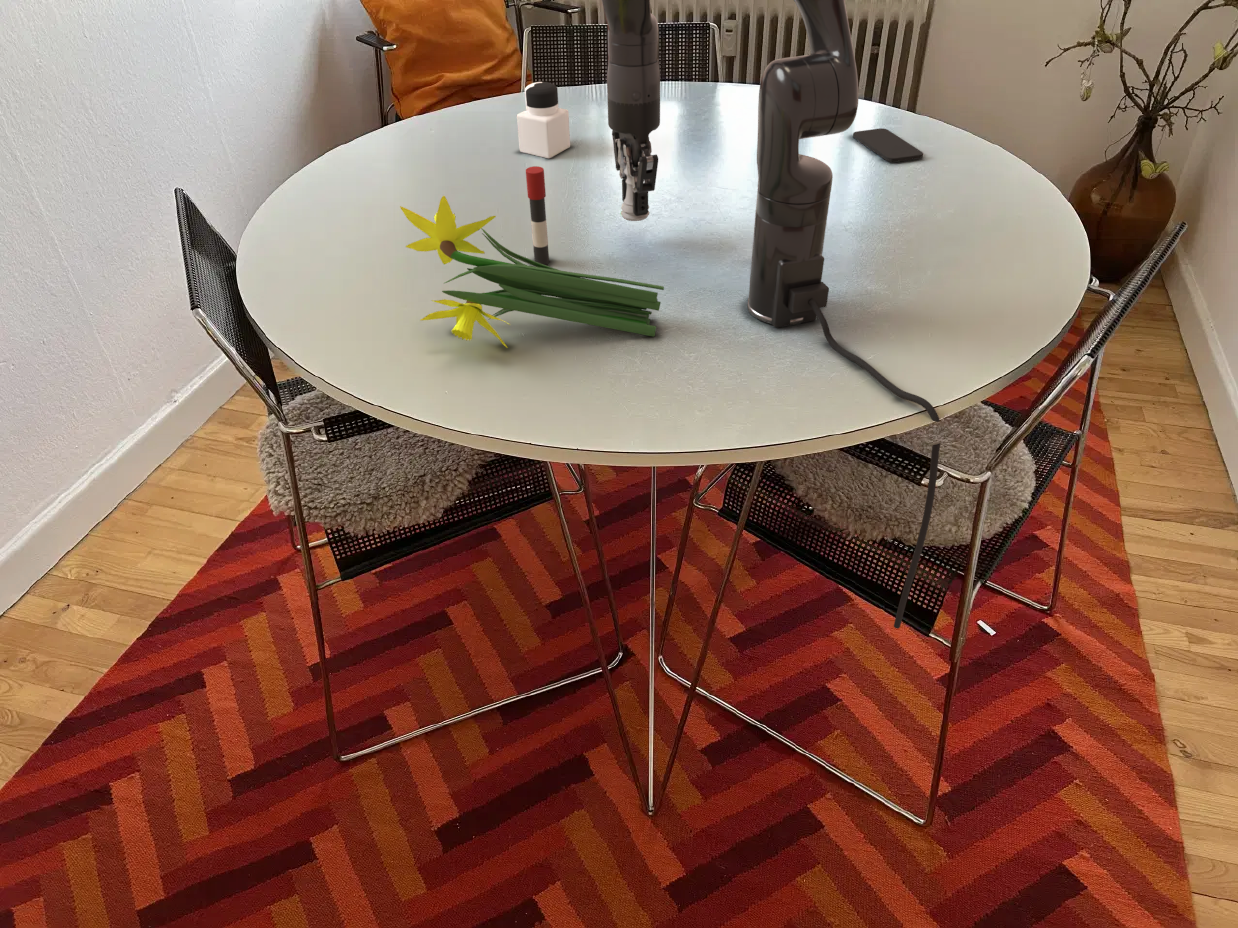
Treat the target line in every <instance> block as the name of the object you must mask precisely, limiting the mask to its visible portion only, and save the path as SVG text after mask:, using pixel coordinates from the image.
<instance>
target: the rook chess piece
mask: <svg viewBox="0 0 1238 928" xmlns="http://www.w3.org/2000/svg"><path fill="white" fill-rule="evenodd" d="M638 168H639V167H634V168H633V169H634V170H638ZM624 173H625V174H626V176H627V179H626V181H625V182H626V183H627V191H626V198H625V199H624V202H623V201H622V203H621V207H620V209H621V211H620V215H621V217H622V218H623V219H624V220H626V221H630V222H641V221H644V220H646V219H648V217H649V216H650V211H649V209H650V205H649V204H648V213H647V214H646V215H641V216H636V215H635V214H634V213H633V190H632V179H631V176H629V175H628V172H627V165H626V169H625V170H624ZM637 178H638V176H637ZM643 183H644V181H643Z"/></svg>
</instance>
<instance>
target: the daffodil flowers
mask: <svg viewBox="0 0 1238 928" xmlns="http://www.w3.org/2000/svg"><path fill="white" fill-rule="evenodd" d="M399 208H400V210H401V211H402V213H403V215H404V216H405V218H406V219H407V220H408V221H409V222H410V223H411V224H412V225H413V226H414V227H415V228H417V229H418V230H420V231H422V232H423V233H424V234H426V236H428V237H424V238H422V239H419V240H415V241H413V242H411V243H408V244H407V245H405V248H408V249H411V250H414V251H416V252H424V253H425V252H426V253H427V252H433V251H436V252H437V255H438V257H439V259H440V261H441V263H442V264H443V265H447V264H449V263H451V262H452V261H453V260H454V261H456V262H458V263H462V264H465V265H468V266H469V265H470V266H473V268H469V267H467V268H466V270H467V271H464V272H462V273H459V274H457V275H456V276H454V277H452V278H451V279H449V280H447V281H444V282H443V285H444V284H447V283H450V282H453V281H454V280H457V279H458V278H461V277H463V276H467V275H469V274H474V275H476V276H477V277H480V278H482V279H484V280H487V281H489V282H491V283H495V284H497V285H498V286H499V287H500V288H501V289H497V290H492V291H488V292H473V291H464V290H442V291H441V293H443V294H445V295H448V296H450V297H454V298H456V299H460V300H464V301H466V302H463V303H462V302H459V301H456V300H453V299H445V298H444V299H443V298H442V299H439V300H438V299H437V300H433V299H432V300H430V301H432V302H433V303H437V304H441V305H444V306H447V307H451V309H446V310H445V309H444V310H438V311H437V310H436V311H434V312H431V313H428V314H427V315H426V316H424V317H423V318H421V319H420V321H431V320H440V319H448V318H455V326H454V327H453V328H452V329H451V334H452V335H454V337H457V338H458V339H460V338H461V340H465V341H469V342H470V341H472V339H473V330H474V327H475V322H477V323H478V324H479V325H480V326H481V327H483V328H484V329H485V330H486V331H488V332H490V333H491V334H492V335H493V336H494V337H495V338H497V339H498V340H499V341H500V343H501V345H503V346H504V347H505V348H506V349H508V348H509V347H508V346H507V344H506V343H505V341H504V340H503V339H502V337H501V336H500V335H499V333H498V332H497V331H496V329H494V327H493V326H492V325H491V324H490V323H489V321H487V319H486V318H488V320H496V321H502V322H504V323H506V324H507V325H509V326H511V323H509V322H507V321H505V320H503V319H502V318H499V317H498V316H501V315H504V314H507V313H510V312H514V311H516V312H520V313H526V314H529V315H537V316H541V317H547V318H551V319H557V320H563V321H569V322H573V323H574V322H575V323H577V324H585V325H589V326H590V325H591V326H595V327H601V328H606V329H610V330H617V331H621V332H626V333H627V332H628V333H632V334H637V335H643V336H648V337H655V335H656V331H657V326H656V325H651V324H650V323H651V318H650V315H652V313H653V312H652V311H660V308H661V304H662V303H661V301H659V300H658V295H659V293H658V292H655V291H650V290H646V289H640V288H635V287H631V286H636V287H643V288H649V289H655V290H661V291H664V290H665V286H664V285H658V284H652V283H647V282H641V281H635V280H629V279H623V278H616V277H609V276H602V275H595V274H589V273H588V274H587V273H579V272H573V271H568V270H567V271H566V270H561V269H558V268H555V267H551V266H548V265H543V264H540V263H538V262H535V260H533V259H530V258H527V257H525V256H522V255H520V254H518V253H516V252H513V251H512V250H510V249H508V248H507V247H505V246H504V245H503V244H501V243H499V242H498V241H497V240H496V239H495V238H493V237H492V236H491V235H490V234H489V233H488V232H487V231H486V230H485V229H484V227H485V226H487V224H488V223H490V222H491V221H493V220H494V219H495V218H496V217H497V215H491V216H488V217H487V218H486V219H485V218H484V219H482V220H478V221H473V222H471V223H466V224H463V225H461V226H458V227H457V223H456V216H457V215H456V214H455V213H453V211H452V208H451V205H450V204H449V201H448V200H447V197H446V196H445V195H442V197H441V198H440V200H439V204H438V208H437V211H436V212H435V215H433V220H434V222H433V221H431V220H430V219H427V218H426V217H424V216H422V215H420V214H418V213H416V212H414V211H413V210H411V209H408V208H406V207H404V206H402V205H399ZM479 230H481V231H483V232H481V235H483V237H484V238H485V239H486V240H487V241H488V242H489V243H490V245H491V246H492V247H493V248H494V249H495V250H496V251H497V252H499V253H500V255H502V256H503V257H504V258H506V259H507V260H509V261H510V262H505V261H501V260H495V259H491V258H485V257H480V256H475V255H471V254H480V255H481V254H482V255H483V254H484V255H485V253H486V252H485V251H484V250H482V249H480V248H479V247H477V246H475V245H474V244H472V243H471V242H469V241H468V240H466V239H467V238H469V237H470V236H472V235H473V234H474V233H476V232H478V231H479ZM467 253H470V254H467ZM521 261H522V262H521ZM511 262H512V263H511ZM525 263H526V264H525ZM528 264H529V265H528ZM610 282H612V283H610ZM615 283H619V284H615ZM621 284H627V285H631V286H626V285H625V286H624V285H621ZM482 305H484V306H488V307H493V308H499V309H500V310H498V311H496V312H495V313H493V314H489V313H487V312H486V311H484V310H483V306H482ZM647 309H648V310H647ZM650 310H652V311H650ZM485 317H486V318H485Z"/></svg>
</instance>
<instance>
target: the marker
mask: <svg viewBox="0 0 1238 928" xmlns="http://www.w3.org/2000/svg"><path fill="white" fill-rule="evenodd" d="M525 179H526V180H525V181H526V190H527V191H526V192H527V198H528V200H529V210H530V224H531V237H532V247H533V259H534V261H535V262H538V263H540V264H543V265H546V266H548V264H550V253H549V238H548V237H549V236H548V225H547V224H548V222H547V212H546V196H547V195H546V181H545V169H544V168H543V167H541V166H537V165H536V166H535V165H534V166H529V167H526V169H525Z"/></svg>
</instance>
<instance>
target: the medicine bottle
mask: <svg viewBox="0 0 1238 928" xmlns="http://www.w3.org/2000/svg"><path fill="white" fill-rule="evenodd" d="M558 92H559V91H558V87H557V86H556V84H555V83H552V82H548V81H537V82H532V83H530V84H528V85H527V86H526V87H525V88H524V99H525V110H523V111H521V112H518V114H516V122H517V135H518V145H519V152H520V153H523V154H527V155H533V156H537V157H541V158H546V159H551V158H554V157H555V156H556V155H558V154H560V153H562V152H563V151H565V150H567V149H569V148H570V147H571V134H570V133H571V132H570V114H569V113H570V112H569V110H568V109H567V108H561V107H559V93H558Z"/></svg>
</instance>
